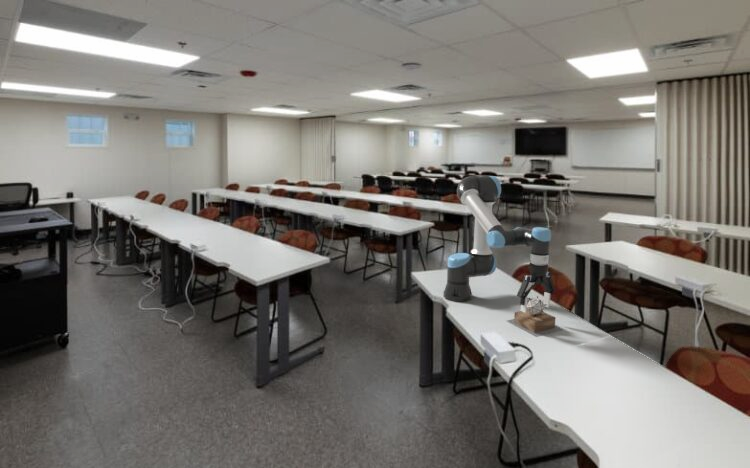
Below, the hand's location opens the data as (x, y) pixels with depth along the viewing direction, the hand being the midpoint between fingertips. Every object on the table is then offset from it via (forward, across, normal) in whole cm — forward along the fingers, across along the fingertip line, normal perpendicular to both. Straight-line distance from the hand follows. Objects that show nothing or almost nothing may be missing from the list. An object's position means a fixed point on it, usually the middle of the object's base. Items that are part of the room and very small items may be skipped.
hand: (535, 309), depth 175 cm
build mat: (+8, 0, 0) cm, 8 cm away
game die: (+3, 0, 0) cm, 3 cm away
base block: (+8, 0, 0) cm, 8 cm away
